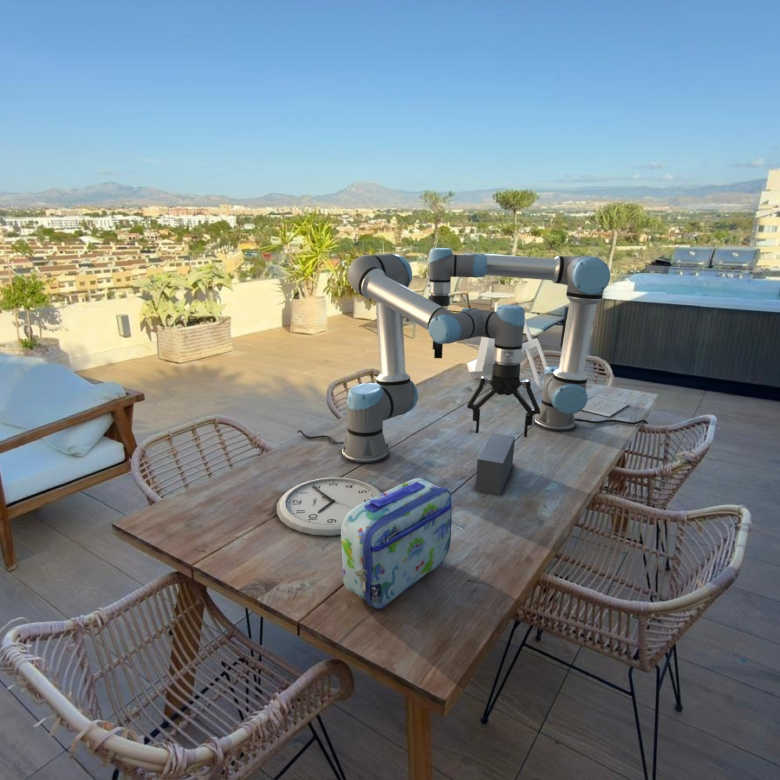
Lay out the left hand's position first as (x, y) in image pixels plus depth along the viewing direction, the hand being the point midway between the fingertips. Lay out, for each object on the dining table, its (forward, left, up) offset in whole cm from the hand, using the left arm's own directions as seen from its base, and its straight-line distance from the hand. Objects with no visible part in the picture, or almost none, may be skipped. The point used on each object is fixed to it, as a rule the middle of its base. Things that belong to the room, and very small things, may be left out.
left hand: (501, 433), depth 151 cm
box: (-2, +5, -17) cm, 17 cm away
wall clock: (-34, -36, -17) cm, 52 cm away
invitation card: (+14, +94, -17) cm, 96 cm away
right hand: (-35, +29, +13) cm, 48 cm away
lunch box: (-3, -54, -17) cm, 56 cm away
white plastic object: (-33, +104, -17) cm, 110 cm away
